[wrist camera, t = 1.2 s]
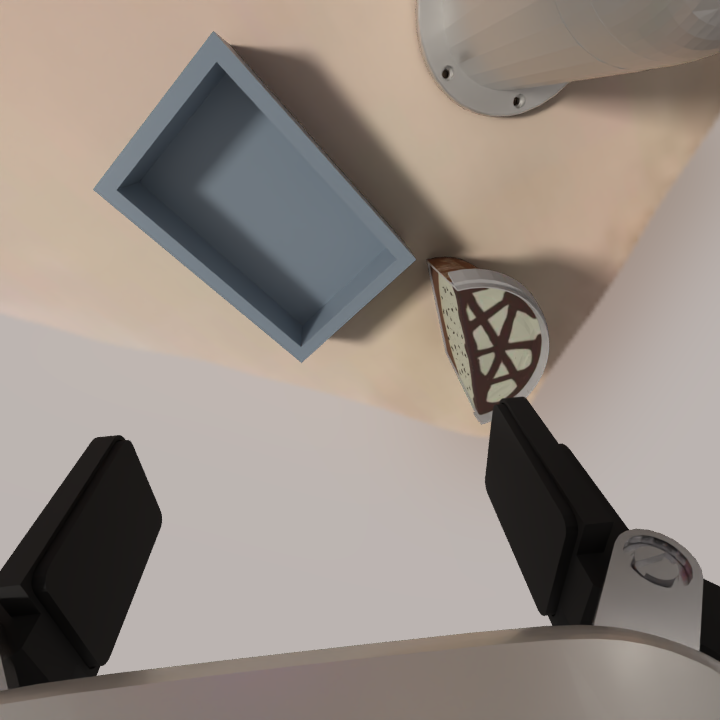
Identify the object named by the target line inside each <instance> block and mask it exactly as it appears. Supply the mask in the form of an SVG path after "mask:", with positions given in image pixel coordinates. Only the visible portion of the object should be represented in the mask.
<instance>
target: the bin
mask: <svg viewBox="0 0 720 720" xmlns="http://www.w3.org/2000/svg"><path fill="white" fill-rule="evenodd" d="M93 190H94V191H95V192H97V193H98V194H99V195H100V196H101V197H103V198H104V199H105V200H106V201H107V202H109V203H110V204H111V205H112V206H113V207H115V208H116V209H117V210H118V211H119V212H121V213H122V214H123V215H124V216H126V217H127V218H128V219H129V220H130V221H132V222H133V223H134V224H135V225H136V226H138V227H139V228H140V229H141V230H142V231H144V232H145V233H146V234H147V235H148V236H150V237H151V238H152V239H153V240H154V241H156V242H157V243H158V244H159V245H160V246H162V247H163V248H164V249H165V250H166V251H168V252H169V253H170V254H171V255H172V256H174V257H175V258H176V259H177V260H178V261H180V262H181V263H182V264H183V265H184V266H186V267H187V268H188V269H189V270H190V271H192V272H193V273H194V274H195V275H196V276H198V277H199V278H200V279H201V280H203V281H204V282H205V283H206V284H207V285H209V286H210V287H211V288H212V289H213V290H215V291H216V292H217V293H218V294H219V295H221V296H222V297H223V298H224V299H225V300H227V301H228V302H229V303H230V304H231V305H233V306H234V307H235V308H236V309H237V310H239V311H240V312H241V313H242V314H243V315H245V316H246V317H247V318H248V319H249V320H251V321H252V322H253V323H254V324H255V325H257V326H258V327H259V328H260V329H261V330H263V331H264V332H265V333H266V334H267V335H269V336H270V337H271V338H272V339H273V340H275V341H276V342H277V343H278V344H280V345H281V346H282V347H283V348H284V349H286V350H287V351H288V352H289V353H290V354H292V355H293V356H294V357H295V358H296V359H298V360H299V361H300V362H301V363H302V362H303V361H304V360H305V359H306V358H307V357H309V356H310V355H311V354H312V353H313V352H314V351H315V350H316V349H317V348H319V347H320V346H321V345H322V344H323V343H324V342H325V341H326V340H327V339H329V338H330V337H331V336H332V335H333V334H334V333H335V332H336V331H337V330H339V329H340V328H341V327H342V326H343V325H344V324H345V323H346V322H347V321H349V320H350V319H351V318H352V317H353V316H354V315H355V314H356V313H357V312H359V311H360V310H361V309H362V308H363V307H364V306H365V305H366V304H367V303H369V302H370V301H371V300H372V299H373V298H374V297H375V296H376V295H377V294H379V293H380V292H381V291H382V290H383V289H384V288H385V287H386V286H387V285H389V284H390V283H391V282H392V281H393V280H394V279H395V278H396V277H397V276H399V275H400V274H401V273H402V272H403V271H404V270H405V269H406V268H407V267H409V266H410V265H411V264H412V263H413V262H414V261H415V260H416V259H415V257H414V256H413V254H412V253H411V251H410V250H409V248H408V247H407V246H406V244H405V243H404V241H403V240H402V239H401V238H400V237H399V236H398V235H397V234H396V232H395V231H394V230H393V229H392V228H391V227H390V226H389V224H388V223H387V222H386V221H385V220H384V219H383V218H382V217H381V215H380V214H379V213H378V212H377V211H376V210H375V209H374V207H373V206H372V205H371V204H370V203H369V202H368V201H367V200H366V198H365V197H364V196H363V195H362V194H361V193H360V192H359V190H358V189H357V188H356V187H355V186H354V185H353V184H352V183H351V181H350V180H349V179H348V178H347V177H346V176H345V175H344V173H343V172H342V171H341V170H340V169H339V168H338V167H337V166H336V164H335V163H334V162H333V161H332V160H331V159H330V158H329V157H328V155H327V154H326V153H325V152H324V151H323V150H322V149H321V147H320V146H319V145H318V144H317V143H316V142H315V141H314V140H313V138H312V137H311V136H310V135H309V134H308V133H307V132H306V130H305V129H304V128H303V127H302V126H301V125H300V124H299V123H298V121H297V120H296V119H295V118H294V117H293V116H292V115H291V113H290V112H289V111H288V110H287V109H286V108H285V107H284V106H283V104H282V103H281V102H280V101H279V100H278V99H277V98H276V96H275V95H274V94H273V93H272V92H271V91H270V90H269V89H268V87H267V86H266V85H265V84H264V83H263V82H262V81H261V80H260V78H259V77H258V76H257V75H256V74H255V73H254V72H253V70H252V69H251V68H250V67H249V66H248V65H247V64H246V63H245V61H244V60H243V59H242V58H241V57H240V56H239V55H238V53H237V52H236V51H235V50H234V49H233V48H232V47H231V46H230V44H228V43H227V42H226V41H225V40H224V39H222V38H221V37H220V36H219V35H218V34H216V33H215V32H214V31H213V32H212V34H211V35H210V36H209V37H208V39H207V40H206V41H205V43H204V44H203V45H202V47H201V48H200V49H199V51H198V52H197V53H196V55H195V56H194V57H193V59H192V60H191V61H190V62H189V64H188V65H187V66H186V68H185V69H184V70H183V72H182V73H181V74H180V76H179V77H178V78H177V80H176V81H175V82H174V84H173V85H172V86H171V88H170V89H169V90H168V91H167V93H166V94H165V95H164V97H163V98H162V99H161V101H160V102H159V103H158V105H157V106H156V107H155V109H154V110H153V111H152V113H151V114H150V115H149V116H148V118H147V119H146V120H145V122H144V123H143V124H142V126H141V127H140V128H139V130H138V131H137V132H136V134H135V135H134V136H133V138H132V139H131V140H130V141H129V143H128V144H127V145H126V147H125V148H124V149H123V151H122V152H121V153H120V155H119V156H118V157H117V159H116V160H115V161H114V163H113V164H112V165H111V166H110V168H109V169H108V170H107V172H106V173H105V174H104V176H103V177H102V178H101V180H100V181H99V182H98V184H97V185H96V186H95V188H94V189H93Z"/></svg>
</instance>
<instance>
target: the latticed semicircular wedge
mask: <svg viewBox="0 0 720 720" xmlns="http://www.w3.org/2000/svg"><path fill="white" fill-rule="evenodd" d="M427 265H428V270H429V275H430V280H431V285H432V289H433V294H434V299H435V304H436V309H437V313H438V318H439V323H440V328H441V333H442V338H443V342H444V347H445V352H446V354H447V356H448V358H449V360H450V363H451V365H452V367H453V369H454V371H455V373H456V375H457V377H458V379H459V381H460V383H461V385H462V387H463V389H464V391H465V393H466V395H467V397H468V399H469V401H470V403H471V405H472V407H473V409H474V411H475V412H473V413H474V415H475V417H476V418H477V420H478V421H479V422H480V423H481V425H482V424H485V423H488V422H490V421H492V412H493V407H494V405H497V404H499V403H500V400H501V399H502V398H512V397H522V396H523V397H525V398H526V397H527V396H528V395H529V394H530V393H531V392H532V390H533V389H534V388H535V386H536V385H537V384H538V382H539V380H540V378H541V376H542V374H543V372H544V369H545V367H546V364H547V359H548V354H549V334H548V327H547V323H546V321H545V318H544V315H543V313H542V311H541V309H540V307H539V305H538V303H537V302H536V300H535V298H534V297H533V295H532V294H531V293H530V292H529V291H528V290H527V289H526V288H525V287H524V286H523V285H522V284H521V283H519V282H518V281H516V280H515V279H514V278H511V277H509V276H507V275H505V274H503V273H499V272H495V271H492V270H486V269H479V268H477V267H475V266H474V265H472V264H470V263H469V262H466V261H464V260H462V259H457V258H453V257H436V258H432V259H427Z"/></svg>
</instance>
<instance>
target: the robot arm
mask: <svg viewBox="0 0 720 720" xmlns="http://www.w3.org/2000/svg"><path fill="white" fill-rule="evenodd" d="M415 11H416V29H417V36H418V41H419V45H420V50H421V54H422V56H423V59H424V62H425V64H426V67H427V69H428V72H429V73H430V75H431V76H432V78H433V80H434V81H435V83H436V84H437V86H438V87H439V88H440V90H441V91H442V92H443V93H444V94H445V95H446V96H447V97H448V98H449V99H450V100H451V101H453V102H454V103H456V104H457V105H459V106H460V107H462V108H463V109H465V110H468V111H471V112H473V113H476V114H479V115H486V116H494V117H497V116H511V115H517V114H521V113H524V112H527V111H529V110H531V109H534V108H536V107H538V106H540V105H542V104H543V103H545V102H546V101H548V100H550V99H551V98H553V97H554V96H556V95H557V94H558V93H559V92H560V91H561V90H562V89H563V88H564V87H565V86H566V85H567V84H569V83H570V82H572V81H579V80H586V79H593V78H600V77H606V76H613V75H620V74H627V73H634V72H640V71H646V70H651V69H656V68H663V67H669V66H676V65H680V64H685V63H689V62H693V61H697V60H700V59H703V58H706V57H709V56H711V55H714V54H716V53H719V52H720V0H416V9H415ZM443 70H446V71H447V72H448V77H447V78H446V79H445V78H443V76H442V72H443ZM515 97H516V98H517V100H518V101H517V104H516V105H515V106H514V104H513V101H514V98H515ZM485 485H486V490H487V493H488V495H489V498H490V500H491V502H492V505H493V507H494V509H495V512H496V514H497V516H498V519H499V521H500V523H501V526H502V528H503V530H504V532H505V535H506V537H507V539H508V542H509V544H510V546H511V548H512V551H513V553H514V555H515V558H516V560H517V562H518V565H519V567H520V569H521V572H522V574H523V576H524V579H525V581H526V583H527V586H528V588H529V590H530V593H531V595H532V597H533V599H534V602H535V604H536V606H537V608H538V611H539V612H540V614H541V615H543V616H545V615H548V617H549V619H550V621H551V623H552V626H542V627H530V628H519V629H508V630H497V631H486V632H475V633H465V634H456V635H447V636H437V637H428V638H419V639H410V640H401V641H392V642H382V643H373V644H364V645H355V646H347V647H337V648H329V649H320V650H311V651H302V652H294V653H284V654H275V655H268V656H258V657H249V658H241V659H232V660H223V661H215V662H208V663H198V664H190V665H182V666H173V667H165V668H157V669H148V670H141V671H132V672H123V673H115V674H107V675H100V676H96V675H97V673H98V670H99V668H100V666H103V665H104V664H106V662H107V661H108V660H109V658H110V655H111V653H112V650H113V648H114V645H115V643H116V640H117V637H118V635H119V633H120V630H121V627H122V625H123V622H124V620H125V617H126V614H127V612H128V609H129V607H130V604H131V602H132V599H133V597H134V594H135V591H136V589H137V587H138V584H139V581H140V579H141V576H142V574H143V571H144V569H145V566H146V564H147V561H148V559H149V556H150V553H151V550H152V548H153V545H154V543H155V541H156V538H157V535H158V533H159V531H160V528H161V523H162V514H161V511H160V508H159V506H158V504H157V501H156V499H155V496H154V494H153V492H152V489H151V487H150V485H149V482H148V480H147V478H146V476H145V473H144V470H143V468H142V466H141V463H140V461H139V459H138V456H137V454H136V452H135V449H134V447H133V445H132V443H131V442H130V441H129V440H125V439H124V438H123V437H122V436H120V435H117V436H107V437H97V438H95V439H94V440H93V441H92V442H91V443H90V444H89V446H88V447H87V449H86V450H85V452H84V453H83V454H82V456H81V457H80V459H79V460H78V461H77V463H76V464H75V466H74V467H73V469H72V470H71V471H70V473H69V474H68V476H67V477H66V479H65V480H64V481H63V483H62V484H61V486H60V487H59V488H58V490H57V491H56V493H55V494H54V496H53V497H52V498H51V500H50V501H49V503H48V504H47V505H46V507H45V508H44V510H43V511H42V513H41V514H40V515H39V517H38V518H37V520H36V521H35V522H34V524H33V526H32V527H31V528H30V530H29V531H28V533H27V534H26V535H25V537H24V538H23V539H22V541H21V542H20V544H19V545H18V547H17V548H16V549H15V551H14V552H13V554H12V555H11V557H10V558H9V560H8V561H7V562H6V564H5V565H4V566H3V568H2V569H1V571H0V720H720V587H719V586H718V585H716V584H713V583H711V582H709V581H707V580H705V579H703V575H702V570H701V568H700V566H699V564H698V562H697V561H696V559H695V558H694V557H693V556H692V555H691V553H690V552H689V551H688V550H687V549H686V548H684V547H683V546H682V545H680V544H679V543H678V542H676V541H675V540H673V539H671V538H669V537H667V536H665V535H663V534H661V533H657V532H654V531H650V530H644V529H633V530H629V529H628V528H627V527H626V525H625V524H624V522H623V521H622V520H621V518H620V517H619V516H618V514H617V513H616V512H615V510H614V509H613V507H612V506H611V505H610V503H609V502H608V501H607V499H606V498H605V497H604V495H603V494H602V493H601V491H600V490H599V489H598V487H597V486H596V484H595V483H594V482H593V480H592V479H591V478H590V476H589V475H588V473H587V472H586V471H585V469H584V468H583V467H582V465H581V464H580V463H579V461H578V460H577V459H576V457H575V456H574V454H573V453H572V452H571V450H570V449H569V448H568V447H567V446H566V445H564V444H558V442H557V441H556V439H555V438H554V437H553V435H552V434H551V432H550V431H549V430H548V428H547V427H546V425H545V424H544V423H543V421H542V420H541V418H540V417H539V416H538V414H537V413H536V411H535V410H534V409H533V407H532V406H531V404H530V403H529V402H528V400H527V399H526V398H525V397H523V396H522V397H512V398H502V399H501V400H500V403H499V404H497V405H494V407H493V412H492V421H491V430H490V439H489V449H488V458H487V467H486V476H485Z"/></svg>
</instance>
